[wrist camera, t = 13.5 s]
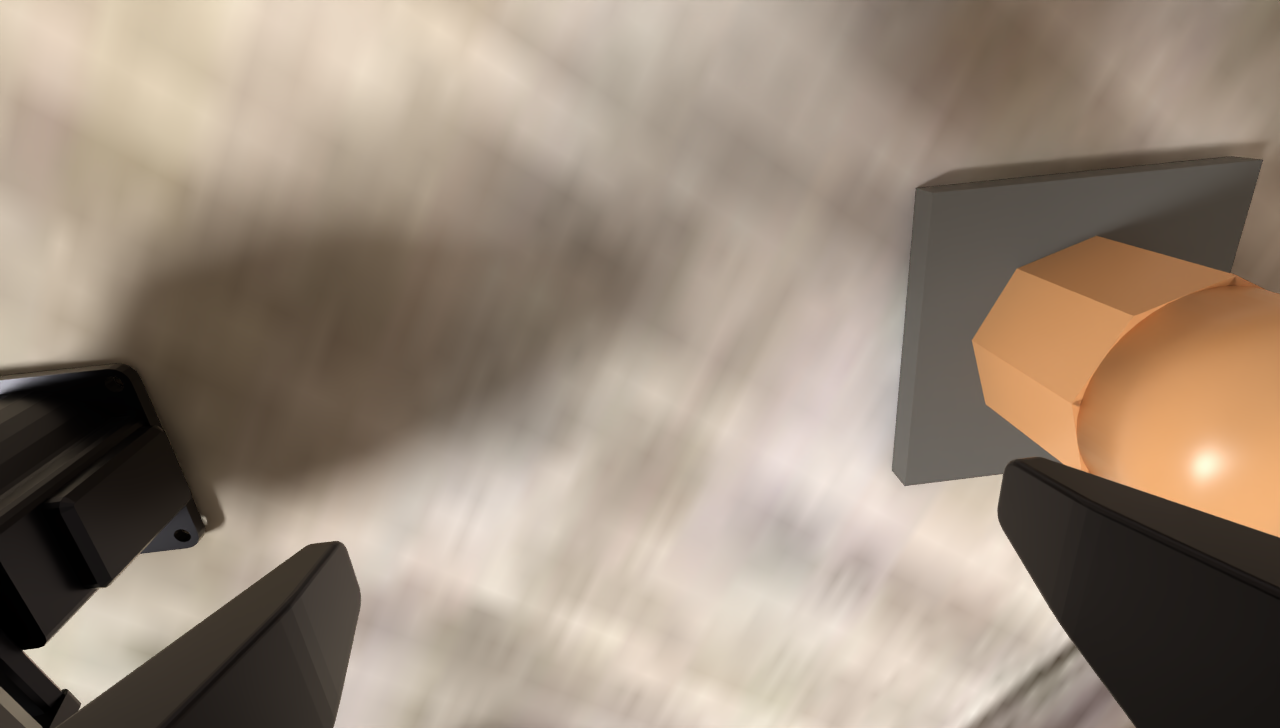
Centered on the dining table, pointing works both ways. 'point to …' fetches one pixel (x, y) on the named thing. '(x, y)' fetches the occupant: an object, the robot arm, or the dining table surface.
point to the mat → (1008, 239)
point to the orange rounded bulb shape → (1143, 375)
